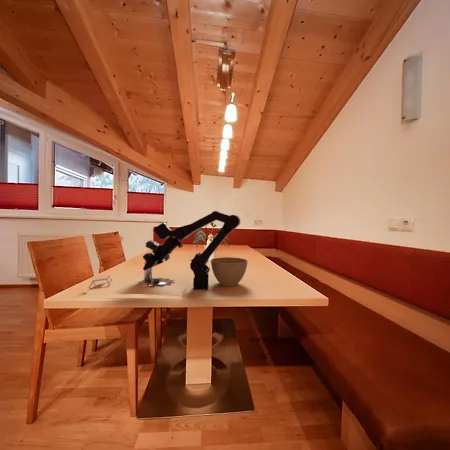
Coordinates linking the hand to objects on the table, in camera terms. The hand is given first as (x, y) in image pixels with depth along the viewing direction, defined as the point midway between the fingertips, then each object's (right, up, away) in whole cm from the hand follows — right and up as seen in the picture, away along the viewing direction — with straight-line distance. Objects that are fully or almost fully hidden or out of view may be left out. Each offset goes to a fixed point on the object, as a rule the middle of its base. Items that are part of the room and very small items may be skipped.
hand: (145, 268), depth 116 cm
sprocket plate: (+6, -7, -3) cm, 10 cm away
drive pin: (+1, -6, 0) cm, 6 cm away
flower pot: (+40, -9, +3) cm, 41 cm away
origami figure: (-16, -7, -9) cm, 20 cm away
